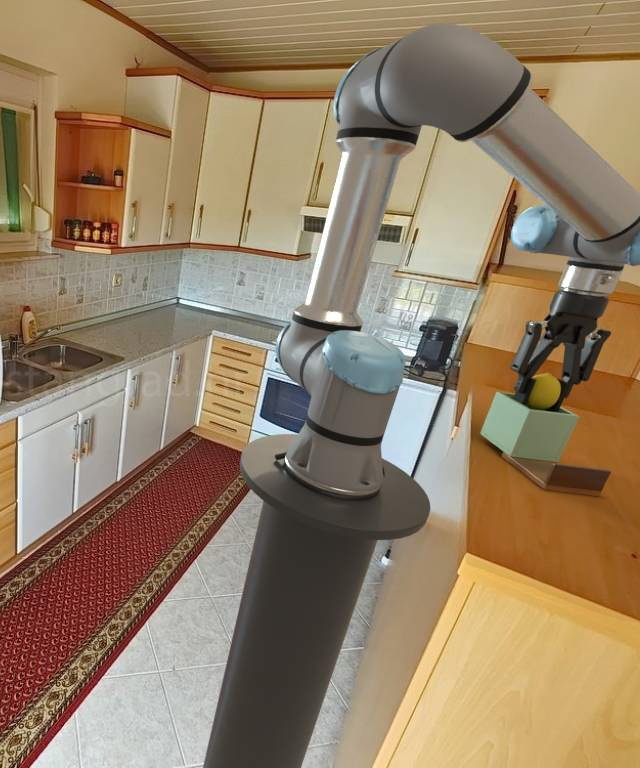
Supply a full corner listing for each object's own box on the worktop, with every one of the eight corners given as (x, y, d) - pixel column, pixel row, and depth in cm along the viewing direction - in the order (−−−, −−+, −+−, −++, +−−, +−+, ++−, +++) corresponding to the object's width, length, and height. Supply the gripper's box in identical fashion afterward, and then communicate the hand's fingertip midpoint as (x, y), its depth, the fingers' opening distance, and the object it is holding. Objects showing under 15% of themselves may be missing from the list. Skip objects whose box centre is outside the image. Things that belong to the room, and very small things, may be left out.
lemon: (512, 409, 96) (528, 371, 93) (518, 403, 99) (534, 366, 96) (548, 419, 92) (565, 380, 89) (552, 413, 96) (569, 375, 93)
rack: (598, 496, 85) (611, 471, 83) (544, 489, 85) (555, 464, 83) (549, 462, 96) (559, 439, 94) (501, 456, 96) (510, 433, 95)
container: (558, 462, 94) (579, 416, 90) (510, 456, 94) (529, 410, 91) (523, 439, 103) (541, 396, 100) (479, 433, 103) (496, 391, 100)
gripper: (544, 290, 84) (496, 412, 93) (656, 301, 83) (597, 423, 92) (516, 283, 91) (473, 397, 100) (619, 294, 90) (567, 408, 99)
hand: (533, 409), depth 96 cm, fingers closed on lemon, 5 cm apart
